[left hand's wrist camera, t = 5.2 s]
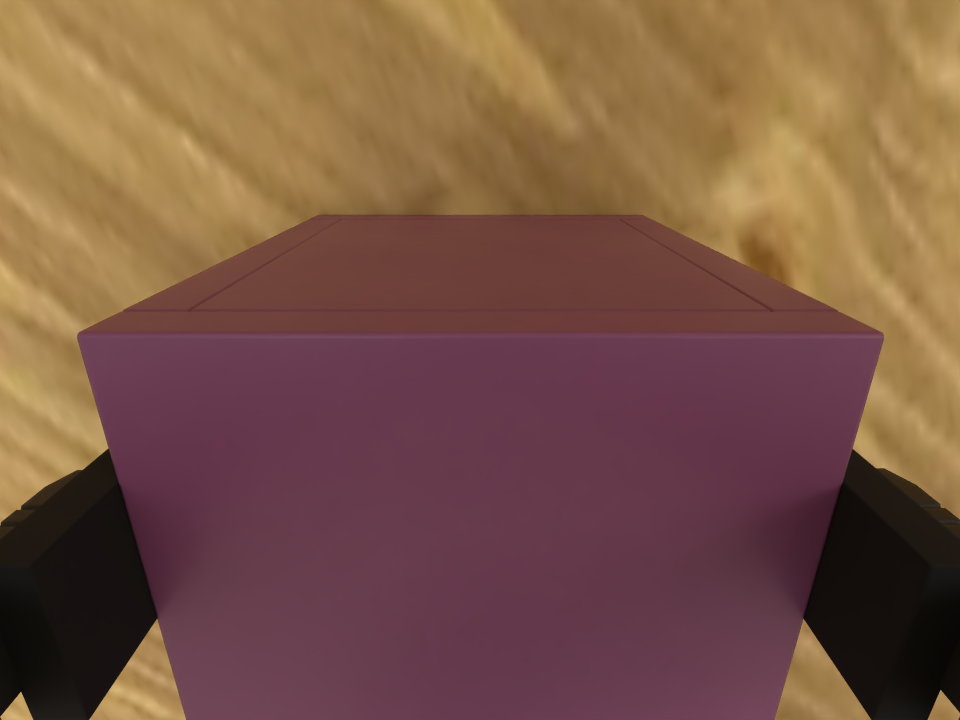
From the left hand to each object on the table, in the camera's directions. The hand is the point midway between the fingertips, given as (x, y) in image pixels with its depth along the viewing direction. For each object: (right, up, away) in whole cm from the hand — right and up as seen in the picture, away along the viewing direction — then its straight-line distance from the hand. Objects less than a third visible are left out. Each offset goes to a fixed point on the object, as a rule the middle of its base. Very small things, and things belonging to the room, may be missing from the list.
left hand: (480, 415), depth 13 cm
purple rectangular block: (0, -3, +9) cm, 9 cm away
